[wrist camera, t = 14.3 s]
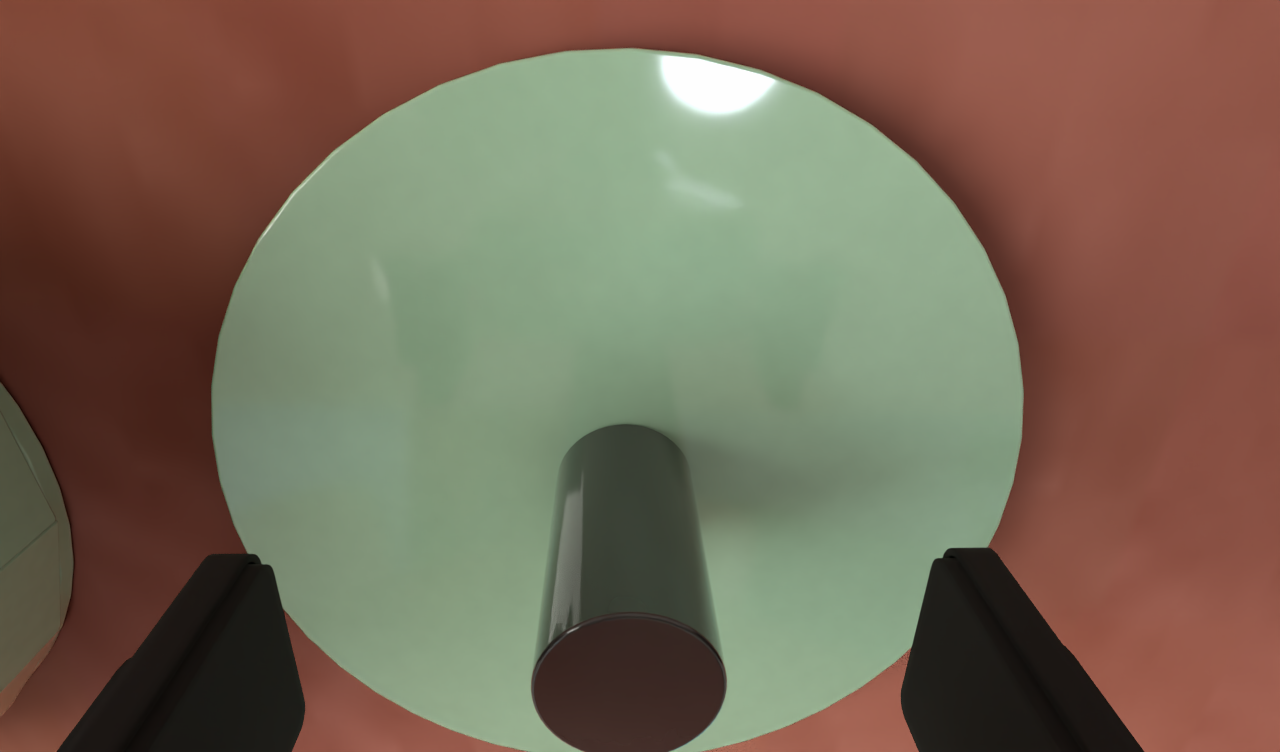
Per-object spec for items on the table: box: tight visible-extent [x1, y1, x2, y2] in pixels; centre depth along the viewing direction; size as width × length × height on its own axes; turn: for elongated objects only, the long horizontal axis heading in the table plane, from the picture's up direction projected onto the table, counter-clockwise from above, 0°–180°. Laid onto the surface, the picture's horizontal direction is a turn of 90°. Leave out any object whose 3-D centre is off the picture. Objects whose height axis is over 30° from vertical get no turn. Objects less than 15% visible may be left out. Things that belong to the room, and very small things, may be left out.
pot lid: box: [211, 47, 1024, 752], centre depth 14 cm, size 17×17×7 cm
